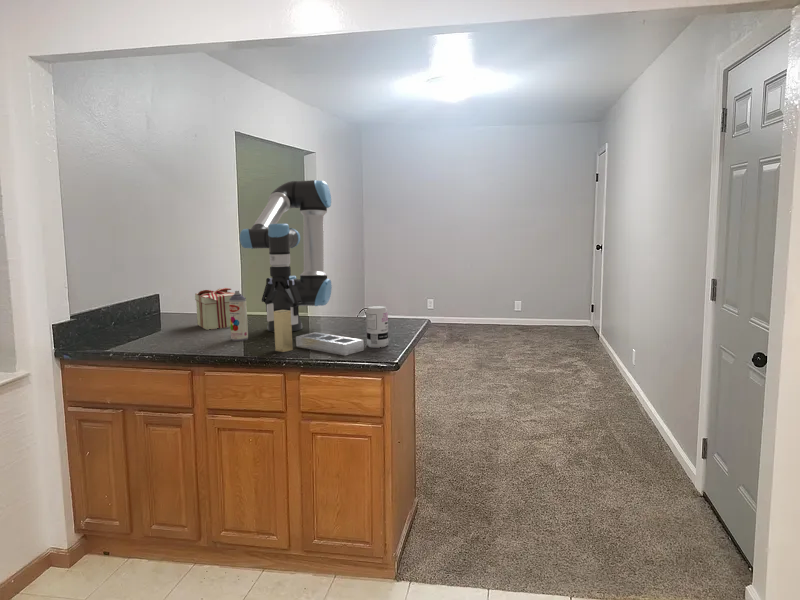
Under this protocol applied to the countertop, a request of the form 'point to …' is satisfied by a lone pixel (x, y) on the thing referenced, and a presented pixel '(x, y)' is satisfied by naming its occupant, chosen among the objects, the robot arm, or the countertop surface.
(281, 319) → the brass peg
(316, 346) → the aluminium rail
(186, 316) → the countertop surface
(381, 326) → the supplement can
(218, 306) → the gift box
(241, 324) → the aerosol can
